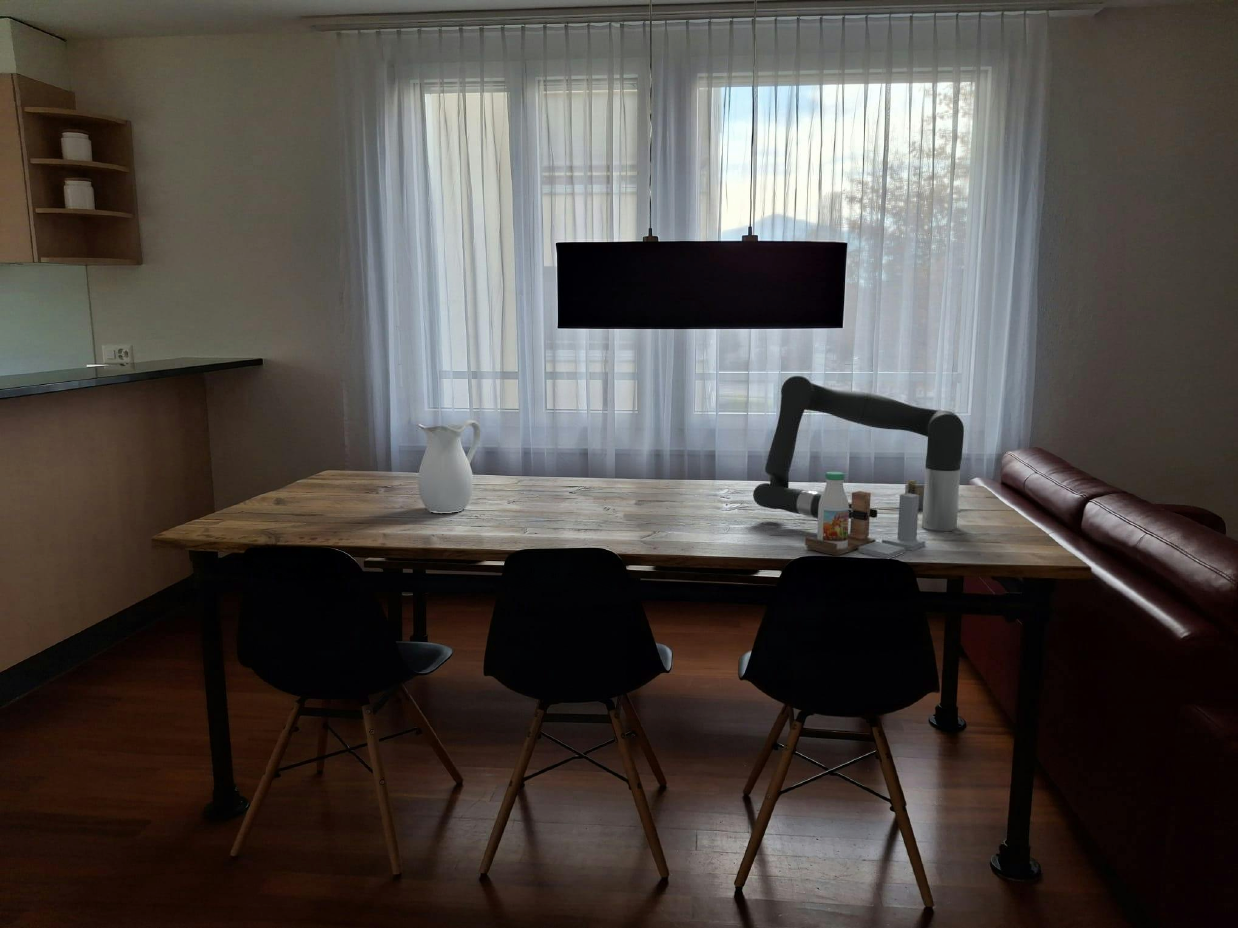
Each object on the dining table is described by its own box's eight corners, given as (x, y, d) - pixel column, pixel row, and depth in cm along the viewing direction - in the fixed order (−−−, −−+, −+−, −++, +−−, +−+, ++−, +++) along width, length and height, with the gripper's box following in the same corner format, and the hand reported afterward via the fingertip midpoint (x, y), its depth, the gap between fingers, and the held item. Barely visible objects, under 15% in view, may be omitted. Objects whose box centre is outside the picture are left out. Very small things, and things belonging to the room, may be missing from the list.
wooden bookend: (848, 535, 231) (850, 489, 229) (877, 542, 224) (880, 494, 222) (804, 548, 218) (806, 499, 216) (834, 556, 211) (836, 505, 209)
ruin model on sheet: (906, 509, 265) (908, 479, 263) (904, 507, 268) (905, 477, 266) (943, 510, 264) (945, 479, 263) (940, 508, 267) (942, 478, 266)
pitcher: (444, 519, 252) (440, 427, 248) (407, 511, 262) (403, 423, 258) (500, 505, 271) (498, 419, 266) (465, 498, 281) (462, 415, 276)
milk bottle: (811, 549, 217) (814, 473, 214) (824, 543, 223) (827, 469, 220) (839, 554, 213) (842, 476, 210) (852, 548, 219) (855, 472, 216)
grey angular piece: (895, 539, 228) (898, 491, 226) (924, 545, 222) (928, 496, 219) (858, 551, 216) (860, 501, 214) (888, 558, 210) (891, 506, 208)
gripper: (802, 495, 230) (857, 505, 217) (832, 488, 239) (887, 497, 227) (801, 522, 231) (856, 533, 218) (831, 514, 240) (885, 524, 228)
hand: (871, 515), depth 223 cm, fingers open, 4 cm apart
